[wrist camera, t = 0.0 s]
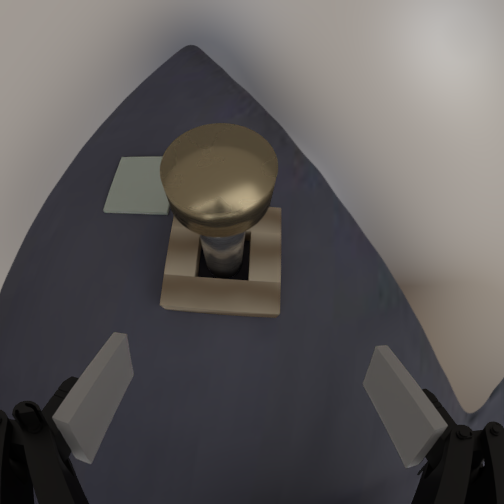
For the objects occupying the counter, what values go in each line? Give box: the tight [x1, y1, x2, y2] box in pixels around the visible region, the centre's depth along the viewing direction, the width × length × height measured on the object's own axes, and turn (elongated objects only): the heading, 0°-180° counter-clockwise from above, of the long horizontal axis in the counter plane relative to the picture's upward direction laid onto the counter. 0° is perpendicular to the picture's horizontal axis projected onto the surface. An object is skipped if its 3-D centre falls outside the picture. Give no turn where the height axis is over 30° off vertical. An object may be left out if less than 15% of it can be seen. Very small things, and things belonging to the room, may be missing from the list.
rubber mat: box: [103, 157, 170, 215], centre depth 34 cm, size 9×9×1 cm
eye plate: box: [160, 207, 281, 318], centre depth 30 cm, size 12×12×2 cm
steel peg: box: [160, 123, 278, 279], centre depth 24 cm, size 7×7×17 cm
